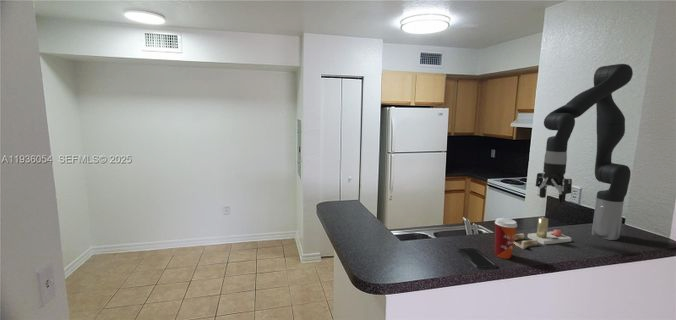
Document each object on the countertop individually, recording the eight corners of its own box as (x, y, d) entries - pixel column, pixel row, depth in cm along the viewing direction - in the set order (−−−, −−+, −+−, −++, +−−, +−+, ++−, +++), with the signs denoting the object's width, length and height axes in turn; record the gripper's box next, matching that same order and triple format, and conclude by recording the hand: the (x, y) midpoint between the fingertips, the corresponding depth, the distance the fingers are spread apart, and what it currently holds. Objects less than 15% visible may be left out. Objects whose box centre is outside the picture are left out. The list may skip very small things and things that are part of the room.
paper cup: (505, 261, 115) (509, 225, 113) (487, 253, 122) (490, 219, 120) (519, 257, 119) (522, 222, 117) (500, 249, 125) (503, 216, 123)
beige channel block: (522, 240, 135) (522, 233, 135) (537, 247, 128) (537, 240, 128) (508, 241, 134) (509, 234, 133) (523, 248, 126) (523, 241, 126)
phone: (475, 248, 125) (498, 265, 110) (475, 250, 125) (498, 268, 110) (457, 248, 124) (477, 266, 109) (456, 251, 124) (476, 269, 110)
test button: (556, 236, 137) (557, 229, 136) (562, 239, 134) (563, 231, 134) (550, 237, 136) (551, 229, 136) (557, 240, 133) (558, 232, 133)
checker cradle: (553, 236, 140) (554, 230, 139) (570, 243, 132) (571, 237, 132) (527, 239, 136) (527, 233, 136) (543, 246, 129) (544, 240, 128)
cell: (541, 234, 135) (543, 216, 134) (548, 237, 132) (550, 218, 130) (534, 235, 134) (536, 216, 133) (541, 238, 131) (543, 219, 129)
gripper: (579, 164, 122) (575, 204, 125) (547, 159, 136) (543, 195, 138) (564, 165, 120) (560, 205, 123) (533, 159, 134) (529, 196, 137)
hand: (551, 200), depth 131 cm, fingers open, 8 cm apart
